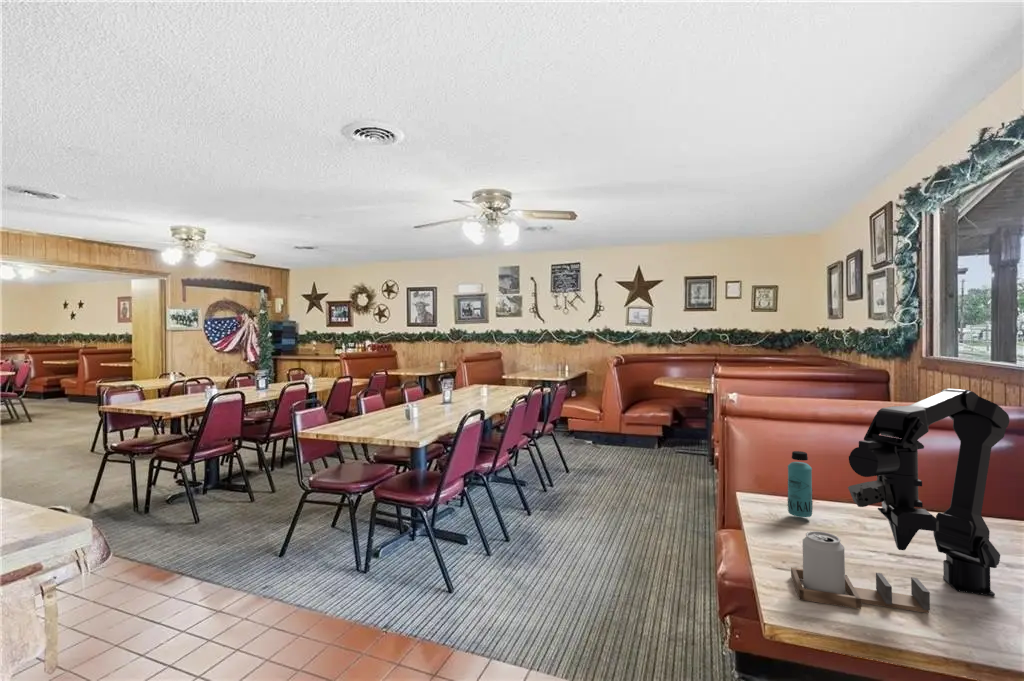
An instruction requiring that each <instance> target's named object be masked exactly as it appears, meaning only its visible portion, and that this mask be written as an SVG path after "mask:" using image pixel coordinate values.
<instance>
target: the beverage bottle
mask: <svg viewBox="0 0 1024 681" xmlns="http://www.w3.org/2000/svg"><path fill="white" fill-rule="evenodd" d="M791 459H792V460H795V461H791V462H790V463H789V464H788V465H787V496H786V497H787V502H786V504H787V511H788V513H789V515H791V516H794V517H798V518H811V517H812V516H813V508H814V505H813V502H814V500H813V475H812V473H813V472H812V471H813V467H811V466H810V465H809V464H808V463H807V462H804V461H808V460H809V457H808V453H807V452H805V451H799V450H798V451H797V450H795V451H792V452H791ZM801 461H802V462H801Z"/></svg>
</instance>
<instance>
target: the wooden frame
mask: <svg viewBox="0 0 1024 681" xmlns="http://www.w3.org/2000/svg"><path fill="white" fill-rule="evenodd" d="M790 576H791V579H792V583H793V585H794V588H795V591H796V593H797V597H798V599H799V600H800V601H801V600H802V601H807V602H814V603H821V604H827V605H833V606H838V607H839V606H840V607H844V608H851V609H857V610H862V604H867V605H874V606H879V607H880V606H881V607H887V608H894V609H900V610H907V611H913V612H919V613H927V614H930V611H931V601H930V600H931V597H930V596H931V594H930V591H929V590H928V588H927V587H926V586H925V585H924V584H923V583H922V582H921V581H920V580H919V578H918V577H910V581H911V582H910V586H911V591H910V592H911V595H910V594H904V593H898V592H893V586H892V584H890V582H889V581H888V580H887V578H886V577H885V575H884V574H883V573H881V572H875V589H870V588H862V587H855V586H854V585H853V583H852V582H851V580H850V578H849V577H848V575H847V574H845V592H847V594H845V595H843V594H837V593H830V592H823V591H817V590H810V589H806V588H804V586H803V583H802V582H801V580H803V568H797V567H790Z"/></svg>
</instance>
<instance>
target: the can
mask: <svg viewBox="0 0 1024 681" xmlns="http://www.w3.org/2000/svg"><path fill="white" fill-rule="evenodd" d="M841 541H842V540H841V538H840V537H839V536H838V535H836V534H833V533H829V532H825V531H821V530H820V531H819V530H818V531H816V530H813V531H807V532H806V533H805V537H804V538H803V539H802V569H803V579H802V581H803V582H802V587H803V588H804V589H810V590H817V591H823V592H830V593H837V594H843V595H846V589H845V575H846V574H845V573H846V564H845V563H846V562H845V546H844V545H843V543H842V542H841Z"/></svg>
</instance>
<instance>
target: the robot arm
mask: <svg viewBox="0 0 1024 681" xmlns="http://www.w3.org/2000/svg"><path fill="white" fill-rule="evenodd" d="M948 417H949V418H950V419H952V421H953V423H952V429H953V430H954V433H955V434H956V436H957V438H958V440H959V441H960V443H959V449H958V450H959V451H958V455H957V456H958V458H957V463H956V469H955V473H954V474H955V475H954V482H953V487H952V488H953V489H952V492H951V493H952V494H951V501H950V506H949V507H948V508H947V509H945V511H943V513H942V512H937V514H936V516H934V515H933V514H932V513H931V512H929V511H928V510H927V509H926V508H923V507H924V506H923V504H924V503H923V502H922V500H920V499H919V487H923V480H921V479H919V459H918V458H919V456H918V450H924V449H925V445H924V444H923V443H921V442H920V441H919V439H921V438H922V437H924V436H925V435H927V433H929V429H930V428H929V426H931V425H932V424H934V423H937V422H939V421H942V420H944V419H946V418H948ZM1009 424H1010V415H1009V413H1008V412H1006V411H1005V410H1004V409H1003V407H1001V406H1000V405H999V404H997V403H996V402H992V401H991V400H988V399H986V398H984V397H981V396H979V395H978V394H977V393H976V392H974V391H971V390H970V389H960V388H959V389H958V388H945V389H942V390H941V391H940V392H938V393H936V394H934V395H931V396H929V397H927V398H924V399H921V400H919V401H917V402H915V403H912V404H909V405H902V406H901V405H899V406H888V407H882V408H880V409H878V410H877V411H876V414H875V415H874V417H873V419H872V421H871V422H870V425H869V427H868V429H867V431H866V433H865V435H864V437H863V440H859V441H858V446H856V447H855V448H853V449H852V450H851V451H850V454H849V456H848V463H849V466H850V467H851V469H852V471H853V472H854V473H856V474H857V475H859V476H860V477H863V478H864V477H865V478H870V477H871V478H872V477H876V480H872V481H866V482H865V481H864V482H860V483H856V484H852V485H848V486H847V489H848V491H849V494H850V496H851V498H852V501H853V503H855V505H856V506H857V507H859V508H866V507H868V506H870V505H875V504H879V503H881V507H878V508H877V510H878V511H879V512H880V513H881V514H882V515H883V516H884V517H885V518H886V519H887V521H888V523H889V527H890V529H891V533H892V536H893V540H894V543H895V546H896V548H897V549H898V550H899V551H906V549H907V547H909V545H910V543H911V542H912V540H913V539H914V537H915V536H916V534H917V533H918V532H919V531H929V532H930V531H931V532H933V539H934V541H935V544H936V548H937V551H938V553H942V554H945V557H946V558H945V559H944V560H943V565H942V566H943V575H942V578H943V580H944V581H945V582H946V583H947V584H949V586H951V588H953V589H954V590H955V591H957V592H961V593H968V594H975V595H983V596H991V597H995V596H996V593H995V592H994V591H993V590H992V589H991V588H992V587H991V569H997V567H998V565H999V564H1000V561H1001V554H1000V552H999V551H998V550H997V548H996V547H995V546H994V545H993V544H992V542H991V541H990V528H989V527H988V525H987V524H986V522H985V520H984V518H983V516H982V512H983V506H984V505H983V504H984V498H985V492H986V486H987V478H988V473H989V465H990V461H991V460H990V458H991V454H992V448H993V447H994V446H995V445H997V444H998V443H999V442H1000V441H1001V440H1003V439H1004V437H1005V434H1006V430H1007V428H1008V427H1009Z"/></svg>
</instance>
